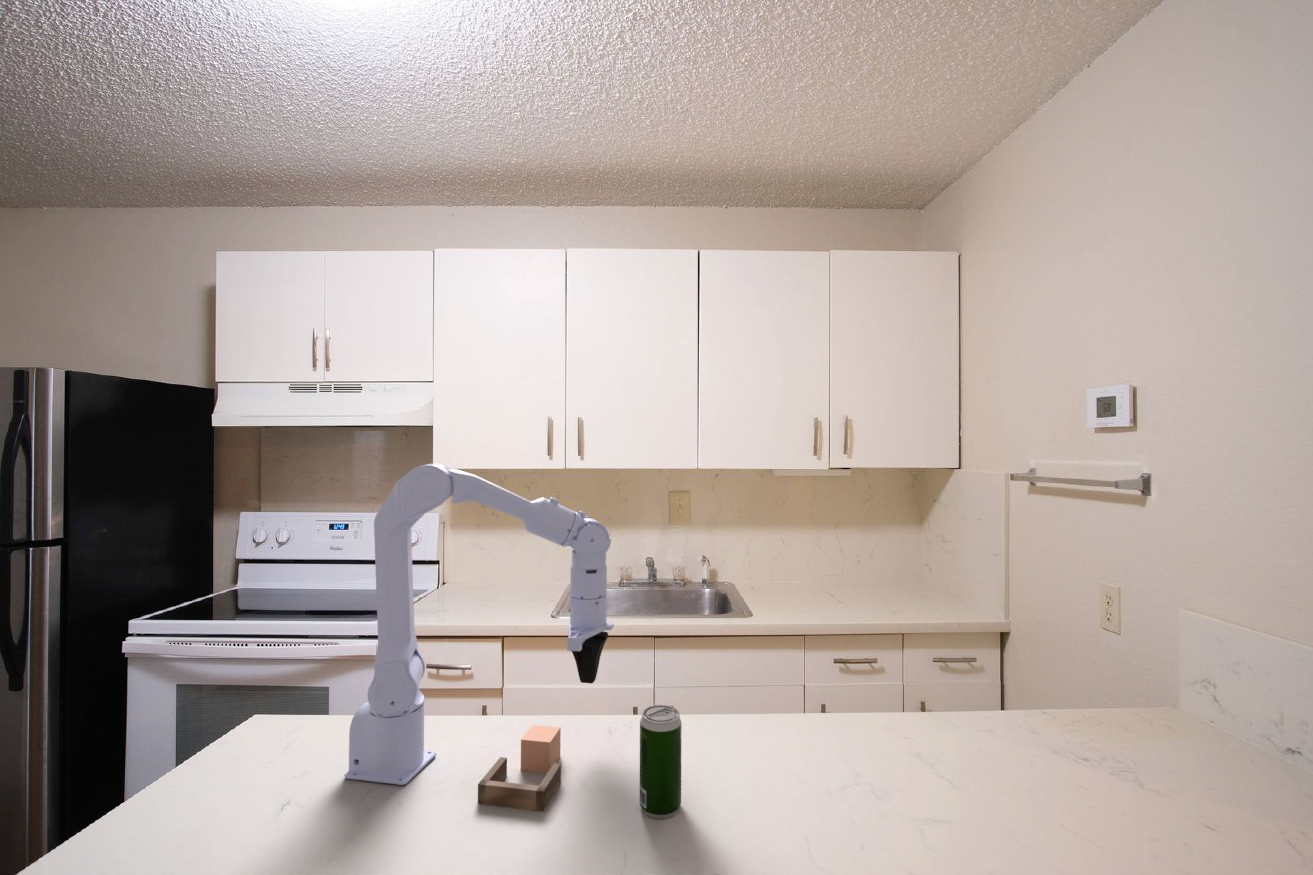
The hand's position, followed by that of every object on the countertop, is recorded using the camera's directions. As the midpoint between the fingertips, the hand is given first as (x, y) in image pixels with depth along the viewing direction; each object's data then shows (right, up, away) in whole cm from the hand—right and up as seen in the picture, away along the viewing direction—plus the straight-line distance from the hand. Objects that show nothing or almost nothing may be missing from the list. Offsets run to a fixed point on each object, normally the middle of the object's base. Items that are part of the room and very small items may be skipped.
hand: (587, 681), depth 89 cm
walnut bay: (-7, -9, -13) cm, 18 cm away
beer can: (+11, -9, -16) cm, 22 cm away
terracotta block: (-6, -9, -6) cm, 13 cm away
